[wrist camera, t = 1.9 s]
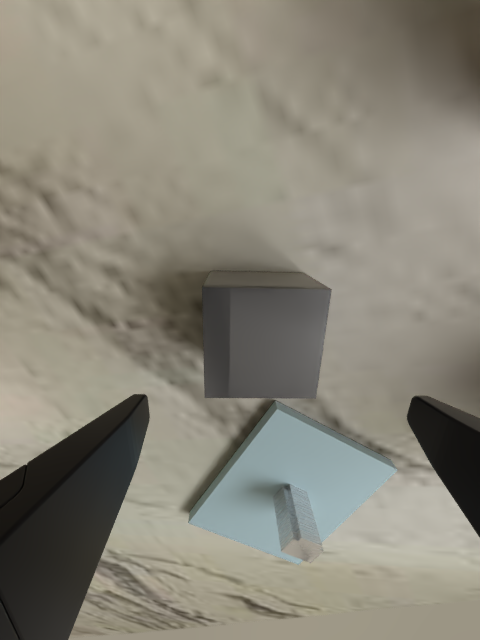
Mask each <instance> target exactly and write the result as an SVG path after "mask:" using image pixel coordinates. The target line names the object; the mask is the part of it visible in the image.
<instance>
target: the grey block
mask: <svg viewBox="0 0 480 640" xmlns="http://www.w3.org/2000/svg"><path fill="white" fill-rule="evenodd" d="M330 296H331V289H330V288H328V287H326V286H325V285H323V284H321V283H320V282H318V281H316V280H315V279H313V278H312V277H310V276H308V275H307V274H305V273H292V272H246V271H211V272H210V273H209V275H208V277H207V279H206V281H205V283H204V285H203V287H202V301H203V344H204V387H205V398H316V394H317V387H318V380H319V373H320V366H321V359H322V352H323V345H324V338H325V331H326V324H327V317H328V310H329V303H330Z"/></svg>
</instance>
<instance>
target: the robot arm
mask: <svg viewBox="0 0 480 640" xmlns="http://www.w3.org/2000/svg"><path fill="white" fill-rule="evenodd" d="M149 418H150V415H149V406H148V398H147V396H146V395H145V394H134V395H132V396H130V397H129V398H127V399H126V400H124V401H123V402H121V403H120V404H118V405H116V406H115V407H113V408H112V409H110V410H109V411H107V412H106V413H104V414H102V415H101V416H99V417H98V418H96V419H95V420H93V421H92V422H90V423H88V424H87V425H85V426H84V427H82V428H81V429H79V430H78V431H76V432H75V433H73V434H71V435H70V436H68V437H67V438H65V439H64V440H62V441H61V442H59V443H57V444H56V445H54V446H53V447H51V448H50V449H48V450H47V451H45V452H43V453H42V454H40V455H39V456H37V457H36V458H34V459H33V460H31V461H29V462H28V463H27V465H23V466H22V467H20V468H19V469H17V470H15V471H14V472H12V473H11V474H9V475H8V476H6V477H4V478H3V479H1V480H0V640H68V639H69V636H70V634H71V631H72V629H73V626H74V623H75V621H76V618H77V616H78V613H79V611H80V608H81V606H82V603H83V601H84V598H85V596H86V593H87V591H88V588H89V586H90V583H91V581H92V578H93V576H94V573H95V571H96V568H97V565H98V563H99V560H100V558H101V555H102V553H103V550H104V548H105V545H106V543H107V540H108V538H109V535H110V533H111V530H112V528H113V525H114V523H115V520H116V518H117V515H118V513H119V510H120V508H121V505H122V502H123V500H124V497H125V495H126V492H127V490H128V487H129V485H130V482H131V480H132V477H133V475H134V472H135V469H136V466H137V463H138V460H139V456H140V453H141V449H142V445H143V442H144V438H145V434H146V431H147V427H148V424H149ZM407 420H408V423H409V425H410V427H411V429H412V431H413V432H414V434H415V436H416V438H417V440H418V442H419V443H420V445H421V447H422V449H423V451H424V452H425V454H426V456H427V458H428V460H429V461H430V463H431V465H432V467H433V468H434V470H435V471H436V473H437V474H438V476H439V477H440V479H441V480H442V482H443V483H444V485H445V486H446V488H447V489H448V491H449V492H450V494H451V495H452V497H453V498H454V500H455V501H456V503H457V504H458V506H459V507H460V509H461V510H462V512H463V513H464V515H465V516H466V518H467V519H468V521H469V522H470V524H471V525H472V527H473V528H474V530H475V531H476V533H477V534H478V536H479V537H480V418H477V417H475V416H473V415H470V414H468V413H466V412H463V411H461V410H459V409H457V408H454V407H452V406H450V405H447V404H445V403H443V402H440V401H438V400H436V399H433V398H431V397H429V396H414V397H413V398H412V400H411V403H410V407H409V410H408V414H407Z"/></svg>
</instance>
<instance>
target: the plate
mask: <svg viewBox="0 0 480 640" xmlns="http://www.w3.org/2000/svg"><path fill="white" fill-rule="evenodd" d="M396 471H397V468H396V467H395V465H394V464H393V463H392V461H391V460H390V459H388V458H386V457H384V456H382V455H380V454H378V453H376V452H374V451H372V450H371V449H369V448H367V447H365V446H363V445H361V444H359V443H357V442H355V441H353V440H351V439H349V438H347V437H345V436H343V435H341V434H339V433H338V432H336V431H334V430H332V429H330V428H328V427H326V426H324V425H322V424H320V423H318V422H316V421H314V420H312V419H310V418H308V417H306V416H304V415H303V414H301V413H299V412H297V411H295V410H293V409H291V408H289V407H287V406H285V405H283V404H281V403H279V402H277V401H274V403H273V404H272V405H271V407H270V408H269V409H268V411H267V412H266V413H265V415H264V416H263V417H262V418H261V420H260V421H259V422H258V424H257V425H256V426H255V428H254V429H253V430H252V431H251V433H250V434H249V435H248V437H247V438H246V439H245V441H244V442H243V443H242V444H241V446H240V447H239V448H238V450H237V451H236V452H235V454H234V455H233V456H232V457H231V459H230V460H229V461H228V463H227V464H226V465H225V467H224V468H223V469H222V470H221V472H220V473H219V474H218V476H217V477H216V478H215V480H214V481H213V482H212V484H211V485H210V486H209V487H208V489H207V490H206V491H205V493H204V494H203V495H202V497H201V498H200V499H199V500H198V502H197V503H196V504H195V506H194V507H193V508H192V510H191V511H190V515H189V521H188V523H189V524H192V525H194V526H197V527H200V528H202V529H205V530H208V531H210V532H213V533H216V534H218V535H221V536H224V537H226V538H229V539H232V540H234V541H237V542H240V543H242V544H245V545H248V546H250V547H253V548H256V549H258V550H261V551H264V552H266V553H269V554H272V555H274V556H277V557H280V558H282V559H285V560H288V561H290V562H293V563H296V564H298V565H299V564H300V563H301V562H302V561H303V560H301V559H299V558H296V557H293V556H291V555H288V554H286V553H283V552H281V547H280V541H279V534H278V527H277V521H276V514H275V507H274V500H273V496H274V495H275V494H276V492H277V491H278V490H279V489H280V488H281V487H282V486H283V485H284V486H286V487H287V486H288V485H289V484H291V485H293V486H295V487H298V488H300V489H302V490H304V491H307V493H308V497H309V501H310V504H311V508H312V511H313V515H314V518H315V522H316V525H317V529H318V532H319V536H320V540H321V543H322V542H323V541H324V540H325V539H326V538H327V537H328V536H329V535H330V534H331V533H332V532H333V531H334V530H335V529H337V528H338V527H339V526H340V525H341V524H342V523H343V522H344V521H345V520H346V519H347V518H348V517H349V516H350V515H351V514H352V513H353V512H354V511H355V510H356V509H357V508H359V507H360V506H361V505H362V504H363V503H364V502H365V501H366V500H367V499H368V498H369V497H370V496H371V495H372V494H373V493H374V492H375V491H376V490H377V489H378V488H379V487H380V486H382V485H383V484H384V483H385V482H386V481H387V480H388V479H389V478H390V477H391V476H392V475H393V474H394V473H395V472H396Z"/></svg>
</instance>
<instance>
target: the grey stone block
mask: <svg viewBox="0 0 480 640" xmlns="http://www.w3.org/2000/svg"><path fill="white" fill-rule="evenodd" d="M273 500H274V507H275V514H276V521H277V527H278V534H279V541H280V547H281V552H283V553H286V554H288V555H291V556H293V557H296V558H299V559H301V560H304V561H307V562H309V563H311V562H313V561H314V560H315V559H316V558H317V557H318V556H319V555H320V554H321V553H322V552H323V548H322V543H321V540H320V536H319V532H318V529H317V525H316V522H315V518H314V515H313V511H312V508H311V504H310V501H309V497H308V493H307V491H304V490H302V489H300V488H298V487H295V486H293V485H291V484H289V485H288V486H287V487H286V486H284V485H283V486H282V487H281V488H280V489H279V490H278V491H277V492H276V494H275V495H274V496H273Z"/></svg>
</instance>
